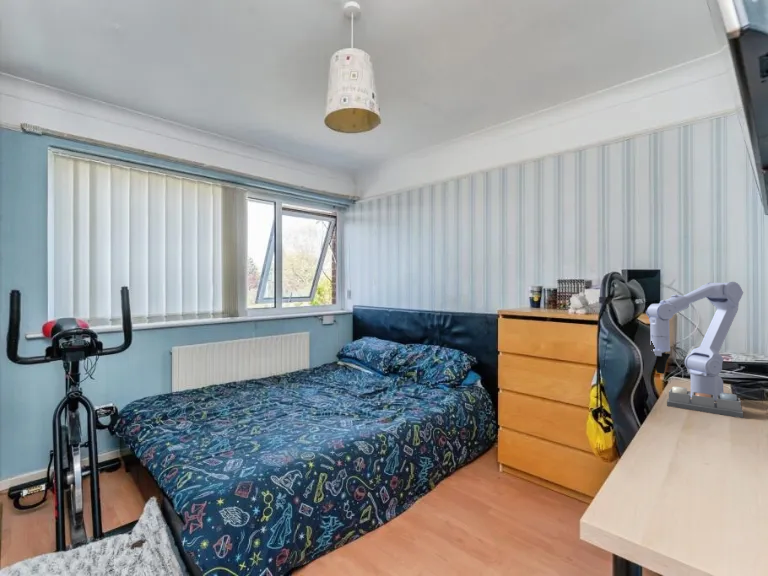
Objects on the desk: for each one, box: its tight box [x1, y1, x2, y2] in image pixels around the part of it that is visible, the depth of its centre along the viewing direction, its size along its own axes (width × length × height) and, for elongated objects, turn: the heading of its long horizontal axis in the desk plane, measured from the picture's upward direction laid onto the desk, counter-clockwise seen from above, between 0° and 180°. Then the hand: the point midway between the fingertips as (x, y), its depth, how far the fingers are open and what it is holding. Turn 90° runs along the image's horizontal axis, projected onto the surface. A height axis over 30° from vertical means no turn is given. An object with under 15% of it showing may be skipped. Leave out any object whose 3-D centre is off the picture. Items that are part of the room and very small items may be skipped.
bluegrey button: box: [720, 392, 738, 401], centre depth 120 cm, size 4×4×3 cm
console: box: [666, 388, 744, 419], centre depth 124 cm, size 19×9×4 cm, turn 48°
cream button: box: [671, 386, 688, 394], centre depth 128 cm, size 4×4×3 cm
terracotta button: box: [695, 393, 711, 398], centre depth 124 cm, size 4×4×3 cm
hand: (660, 373), depth 136 cm, fingers closed
